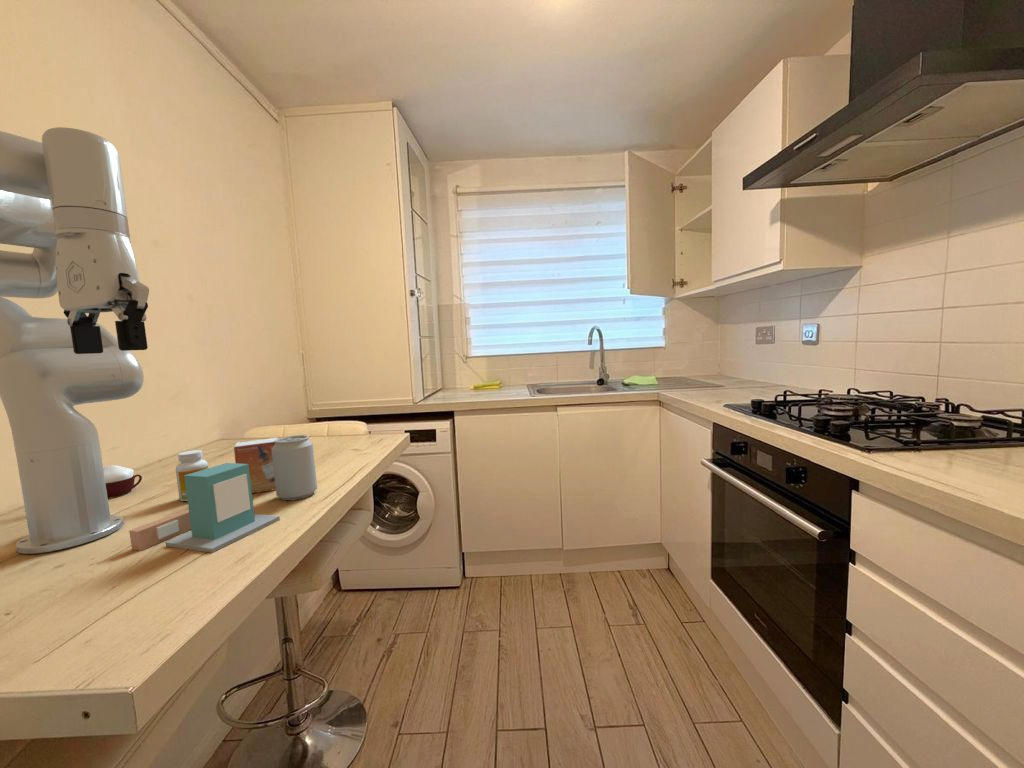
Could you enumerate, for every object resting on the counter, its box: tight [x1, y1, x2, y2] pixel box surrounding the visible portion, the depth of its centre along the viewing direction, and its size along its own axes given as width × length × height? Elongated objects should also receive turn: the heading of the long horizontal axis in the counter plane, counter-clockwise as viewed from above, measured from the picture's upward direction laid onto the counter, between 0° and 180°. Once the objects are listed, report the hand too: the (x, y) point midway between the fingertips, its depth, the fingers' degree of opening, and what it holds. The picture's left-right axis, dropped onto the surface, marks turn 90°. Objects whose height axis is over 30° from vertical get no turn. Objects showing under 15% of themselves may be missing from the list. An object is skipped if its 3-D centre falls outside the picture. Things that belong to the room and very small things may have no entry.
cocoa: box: [103, 465, 143, 498], centre depth 94 cm, size 10×6×12 cm, turn 128°
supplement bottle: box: [175, 449, 209, 502], centre depth 89 cm, size 5×5×10 cm
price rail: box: [128, 508, 191, 551], centre depth 73 cm, size 2×16×3 cm, turn 162°
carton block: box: [184, 462, 255, 540], centre depth 70 cm, size 7×5×10 cm
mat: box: [165, 513, 281, 554], centre depth 70 cm, size 10×12×1 cm
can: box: [271, 434, 318, 501], centre depth 86 cm, size 8×8×12 cm
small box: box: [233, 436, 279, 494], centre depth 92 cm, size 8×6×10 cm
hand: (110, 351), depth 61 cm, fingers open, 9 cm apart
